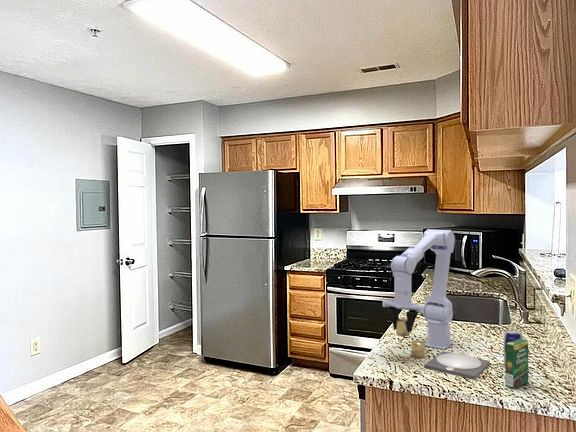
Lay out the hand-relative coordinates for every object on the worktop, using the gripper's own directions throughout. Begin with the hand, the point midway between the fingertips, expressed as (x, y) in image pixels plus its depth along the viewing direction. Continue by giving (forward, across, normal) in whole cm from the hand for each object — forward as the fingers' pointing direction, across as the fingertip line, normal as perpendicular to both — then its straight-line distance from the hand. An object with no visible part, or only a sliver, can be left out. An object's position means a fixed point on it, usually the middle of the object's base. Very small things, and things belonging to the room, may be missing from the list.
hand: (402, 330), depth 154 cm
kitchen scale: (+10, +17, +6) cm, 21 cm away
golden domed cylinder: (+1, 0, 0) cm, 1 cm away
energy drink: (+11, +32, +15) cm, 37 cm away
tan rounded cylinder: (+10, +3, +7) cm, 13 cm away
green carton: (+11, +36, +1) cm, 37 cm away
